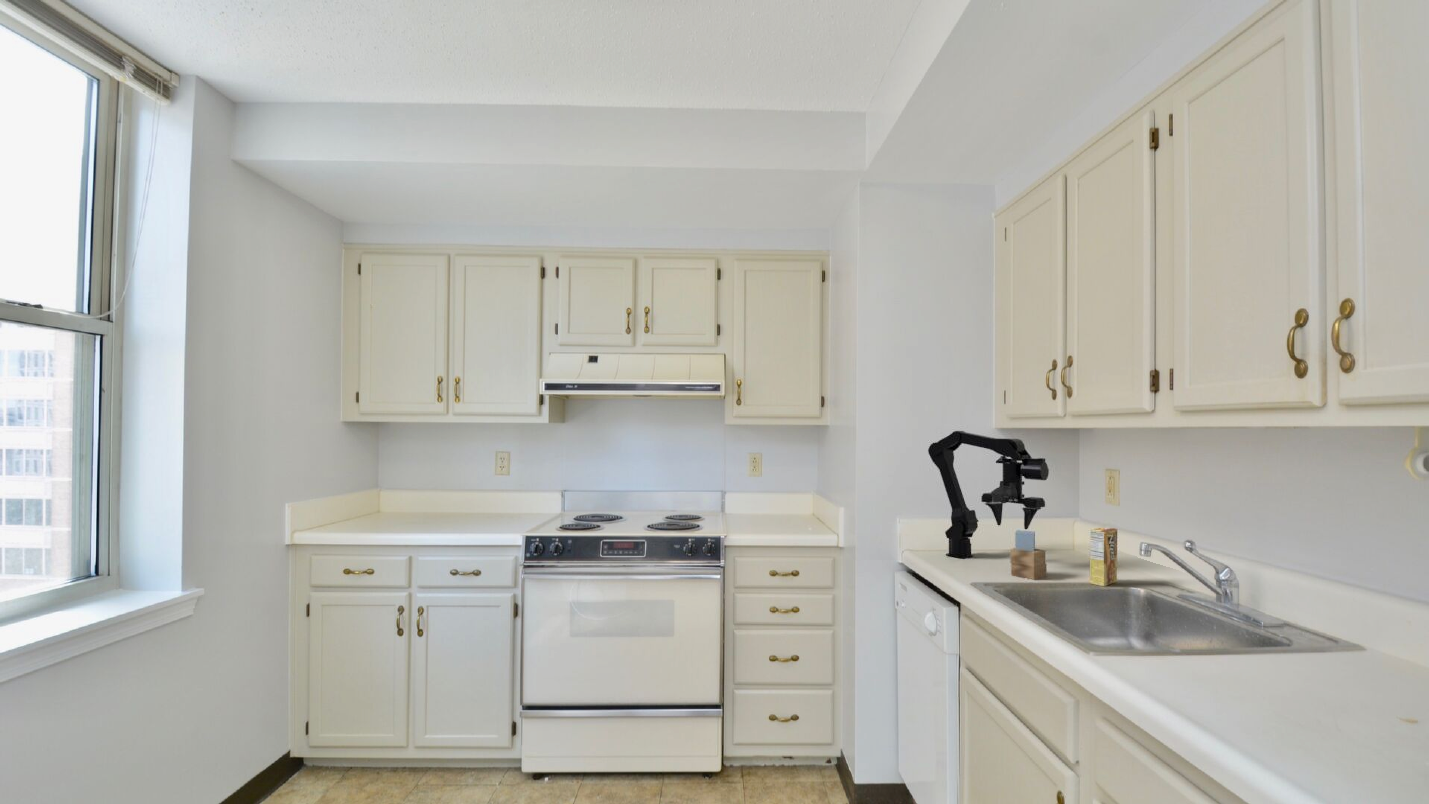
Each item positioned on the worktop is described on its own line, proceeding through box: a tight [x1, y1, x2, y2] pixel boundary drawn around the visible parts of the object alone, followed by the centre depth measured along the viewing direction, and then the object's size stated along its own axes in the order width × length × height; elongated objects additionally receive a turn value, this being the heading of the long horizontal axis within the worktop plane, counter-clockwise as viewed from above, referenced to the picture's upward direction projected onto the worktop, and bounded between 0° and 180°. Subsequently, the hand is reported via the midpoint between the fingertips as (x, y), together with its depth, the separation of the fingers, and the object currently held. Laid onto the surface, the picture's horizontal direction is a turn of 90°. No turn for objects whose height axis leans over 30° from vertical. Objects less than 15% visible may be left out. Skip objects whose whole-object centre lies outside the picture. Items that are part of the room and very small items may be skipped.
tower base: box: [1010, 562, 1048, 581], centre depth 204 cm, size 7×7×4 cm
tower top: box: [1010, 547, 1046, 567], centre depth 204 cm, size 7×7×4 cm
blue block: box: [1014, 529, 1036, 551], centre depth 205 cm, size 5×5×5 cm
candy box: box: [1089, 526, 1118, 587], centre depth 196 cm, size 9×4×15 cm, turn 129°
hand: (1012, 527), depth 219 cm, fingers open, 9 cm apart
